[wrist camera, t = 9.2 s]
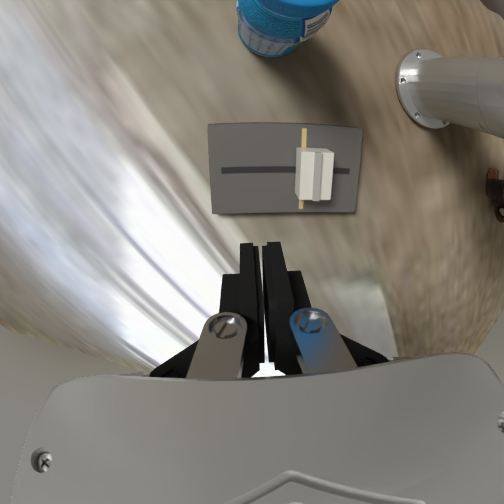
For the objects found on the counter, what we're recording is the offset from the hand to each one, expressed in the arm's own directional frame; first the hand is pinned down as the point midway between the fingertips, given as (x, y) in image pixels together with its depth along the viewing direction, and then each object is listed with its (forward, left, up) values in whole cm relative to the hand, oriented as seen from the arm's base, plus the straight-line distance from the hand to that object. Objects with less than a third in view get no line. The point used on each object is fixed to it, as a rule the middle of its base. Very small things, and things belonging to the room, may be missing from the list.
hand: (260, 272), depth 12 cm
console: (-5, +2, -28) cm, 29 cm away
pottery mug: (-49, +2, -29) cm, 57 cm away
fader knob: (-8, +2, -26) cm, 27 cm away
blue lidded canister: (-3, -17, -29) cm, 33 cm away
